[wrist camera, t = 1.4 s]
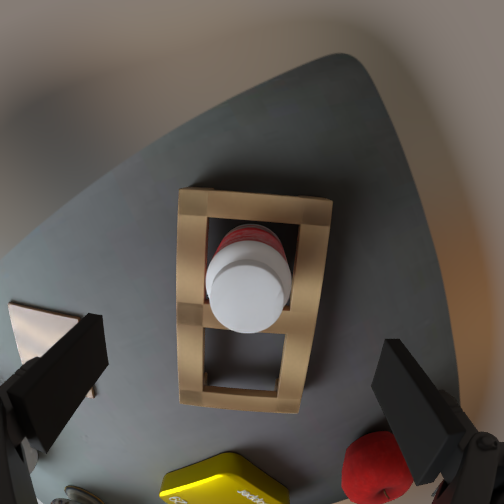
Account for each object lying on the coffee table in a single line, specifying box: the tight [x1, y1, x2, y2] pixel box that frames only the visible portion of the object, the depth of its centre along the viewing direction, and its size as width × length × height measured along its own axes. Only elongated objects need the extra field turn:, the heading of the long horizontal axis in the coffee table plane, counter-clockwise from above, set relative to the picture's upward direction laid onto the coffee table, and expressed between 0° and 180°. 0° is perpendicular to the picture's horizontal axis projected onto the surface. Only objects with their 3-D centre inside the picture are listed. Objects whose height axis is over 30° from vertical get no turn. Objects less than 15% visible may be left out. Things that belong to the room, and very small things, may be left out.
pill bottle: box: [206, 224, 292, 333], centre depth 25 cm, size 6×6×11 cm
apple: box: [342, 431, 414, 504], centre depth 31 cm, size 10×10×11 cm
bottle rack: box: [176, 187, 333, 413], centre depth 30 cm, size 22×13×4 cm, turn 175°
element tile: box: [159, 452, 290, 504], centre depth 37 cm, size 15×15×5 cm
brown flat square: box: [8, 302, 95, 399], centre depth 34 cm, size 12×12×1 cm
